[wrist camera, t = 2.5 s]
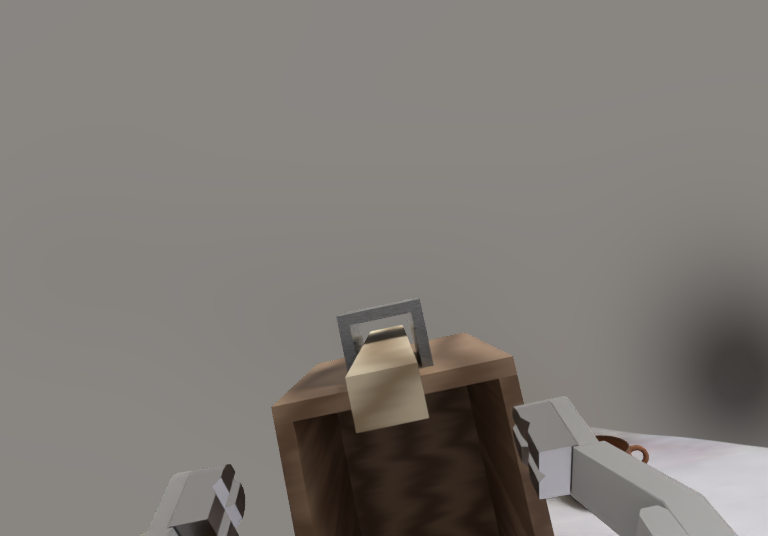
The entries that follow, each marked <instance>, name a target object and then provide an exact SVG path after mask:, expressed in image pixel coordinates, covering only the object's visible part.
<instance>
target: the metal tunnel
mask: <svg viewBox="0 0 768 536" xmlns="http://www.w3.org/2000/svg"><path fill="white" fill-rule="evenodd" d="M405 313H408V318H409V323H410V327H411V332H412V336H413V341H414V346H415V351H416V354H417V356H418V358H419V360H420V363H421V365H422V367H423V368H425V367H430V366H434V364H433V359H432V354H431V350H430V345H429V341H428V336H427V331H426V327H425V322H424V318H423V313H422V309H421V303H420V299H415V298H412V299H407V300H403V301H398V302H393V303H389V304H384V305H379V306H374V307H369V308H365V309H360V310H355V311H351V312H347V313H344V314H342V315H339V316H337V322H338V327H339V332H340V337H341V341H342V346H343V351H344V357H345V362H346V367H347V372H349V370H350V368H351V366H352V364H353V363H354V361H355V359H356V357H357V355H358V354H359V352H360V350H361V348H362V346H363V344H364V343H363V338H362V333H361V329H360V323H362V322H367V321H372V320H377V319H382V318H386V317H391V316H396V315H400V314H405Z"/></svg>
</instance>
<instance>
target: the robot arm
mask: <svg viewBox="0 0 768 536" xmlns="http://www.w3.org/2000/svg"><path fill="white" fill-rule="evenodd" d="M512 417H513V419H514V422H515V426H514V427H513V437H514V441H515V446H516V449H517V451H518V454H519V456H520V459H521V461H522V463H524V464H525V465H527V466H528V467H529V478H530V480H531V482H532V485H533V487H534V489H535V491H536V493H537V495H538V497H539V499H546V498H551V497H557V496H563V495H569V494H571V496H572V497H573V498H574V499H576V500H577V501H578V502H579V503H581V504H582V505H583V506H584V507H585V508H587V509H588V510H589V511H590V512H592V513H593V514H594V515H595V516H596V517H598V518H599V519H600V520H601V521H603V522H604V523H605V524H606V525H607V526H609V527H610V528H611V529H612V530H614V531H615V532H616V533H617V534H618V535H620V536H738V535H737V534H736V533H735V532H734V531H733V530H732V528H731V527H730V526H729V525H728V524H727V523H726V521H725V520H724V519H723V518H722V517H721V516H720V514H719V513H718V512H717V511H716V510H715V509H714V508H713V506H712V505H711V504H710V503H709V502H708V501H707V499H706V498H705V497H704V496H703V495H702V494H700V493H698V492H696V491H695V490H693V489H691V488H689V487H687V486H686V485H684V484H682V483H680V482H678V481H677V480H675V479H673V478H671V477H669V476H668V475H666V474H664V473H662V472H660V471H658V470H657V469H655V468H653V467H651V466H649V465H648V464H646V463H644V462H642V461H640V460H639V459H637V458H635V457H633V456H631V455H630V454H628V453H626V452H624V451H622V450H620V449H619V448H617V447H615V446H613V445H611V444H610V443H608V442H606V441H598V439H597V438H596V437H595V435H594V434H593V432H592V431H591V430H590V428H589V427H588V425H587V424H586V423H585V421H584V420H583V418H582V417H581V415H580V414H579V413H578V411H577V410H576V408H575V407H574V406H573V404H572V403H571V402H570V400H569V399H568V398H567V397H565V396H563V397H557V398H553V399H548V400H542V401H537V402H533V403H528V404H523V405H519V406H514V407H513V408H512ZM234 474H235V471H234V469H233V467H232V466H231V464H228V465H222V466H216V467H209V468H204V469H198V470H193V471H188V472H183V473H177V474H175V475H174V476H173V477H172V478H171V480H170V482H169V484H168V487H167V489H166V491H165V493H164V495H163V498H162V500H161V502H160V504H159V507H158V509H157V511H156V514H155V516H154V518H153V521H152V523H151V525H150V527H149V530H148V532H146V533H142V534H141V535H140V536H239V535H238V533H237V531H236V529H235V528H236V526H237V525H238V524H239V523H240V521H241V520H242V519H243V515H244V510H245V494H244V489H243V487H242V485H241V483H240V482H238V481H236V480H235V479H233V478H234Z"/></svg>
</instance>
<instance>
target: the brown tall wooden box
mask: <svg viewBox="0 0 768 536" xmlns="http://www.w3.org/2000/svg"><path fill="white" fill-rule="evenodd" d="M428 341H429V345H430V350H431V354H432V359H433V364H434V366H430V367H425V368H423V367H422V365H421V363H420V360H419V358H418V356H417V354H416V351H415V346H414V343H413V344H410V345H411V348H412V350H413V353H414V355H415V358H416V360H417V363H418V368H419V372H420V377H421V382H422V386H423V391H424V396H425V401H426V405H427V410H428V415H429V418H427V419H422V420H417V421H413V422H408V423H403V424H398V425H394V426H389V427H384V428H379V429H375V430H370V431H365V432H360V433H356V430H355V425H354V420H353V415H352V410H351V405H350V399H349V394H348V389H347V384H346V379H345V377H346V375H347V373H348V372H347V367H346V362H345V358H341V359H337V360H332V361H327V362H323V363H318V364H317V365H316V366H315V367H314V368H313V369H312V370H310V371H309V372H308V373H307V374H306V375H305V376H304V377H303V378H302V379H301V380H300V381H299V382H298V383H297V384H296V385H294V386H293V387H292V388H291V389H290V390H289V391H288V392H287V393H286V394H285V395H284V396H283V397H282V398H280V399H279V400H278V401H277V402H276V403H275V404H274V405H273V406H272V414H273V419H274V424H275V430H276V435H277V440H278V446H279V451H280V457H281V462H282V468H283V473H284V478H285V484H286V489H287V494H288V500H289V505H290V511H291V516H292V521H293V527H294V532H295V536H554V533H553V528H552V524H551V520H550V515H549V511H548V507H547V502H546V499H539V497H538V495H537V493H536V491H535V489H534V487H533V485H532V482H531V480H530V478H529V467H528V466H527V465H525V464H524V463H522V461H521V459H520V456H519V454H518V451H517V449H516V446H515V441H514V437H513V427H514V426H515V422H514V419H513V417H512V408H513V407H514V406H519V405H523V404H524V402H523V398H522V394H521V389H520V385H519V381H518V376H517V372H516V368H515V364H514V359H513V356H511V355H509V354H507V353H505V352H503V351H501V350H499V349H497V348H495V347H493V346H491V345H489V344H487V343H485V342H483V341H481V340H479V339H477V338H475V337H473V336H471V335H469V334H467V333H460V334H455V335H451V336H446V337H441V338H436V339H432V340H428Z"/></svg>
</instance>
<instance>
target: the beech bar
mask: <svg viewBox="0 0 768 536" xmlns="http://www.w3.org/2000/svg"><path fill="white" fill-rule="evenodd" d="M345 379H346V384H347V389H348V394H349V399H350V405H351V410H352V415H353V420H354V425H355V430H356V433H360V432H365V431H370V430H375V429H379V428H384V427H389V426H394V425H398V424H403V423H408V422H413V421H417V420H422V419H427V418H429V415H428V410H427V405H426V401H425V396H424V391H423V386H422V382H421V377H420V372H419V368H418V363H417V360H416V358H415V355H414V353H413V350H412V348H411V345H410V343H409V341H408V338H407V335H406V333H405V330H404V328H403V325H400V326H395V327H390V328H385V329H380V330H376V331H371V332H370V334H369V335H368V337H367V339H366V341H365V343H364V344H363V346H362V348H361V350H360V352H359V354H358V355H357V357H356V359H355V361H354V363H353V364H352V366H351V368H350V370H349V372H348V373H347V375H346V377H345Z"/></svg>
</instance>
